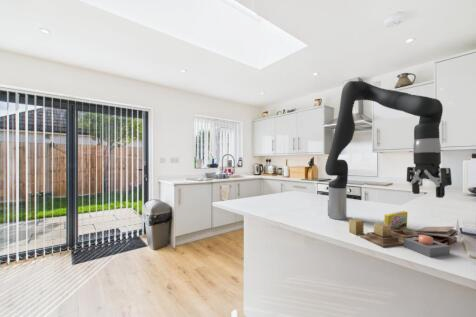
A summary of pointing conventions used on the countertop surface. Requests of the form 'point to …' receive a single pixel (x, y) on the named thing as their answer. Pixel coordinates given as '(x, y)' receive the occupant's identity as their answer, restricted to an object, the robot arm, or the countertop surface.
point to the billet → (356, 226)
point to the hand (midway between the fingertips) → (427, 195)
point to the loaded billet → (382, 230)
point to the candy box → (396, 220)
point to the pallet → (390, 238)
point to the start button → (426, 240)
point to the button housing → (427, 247)
